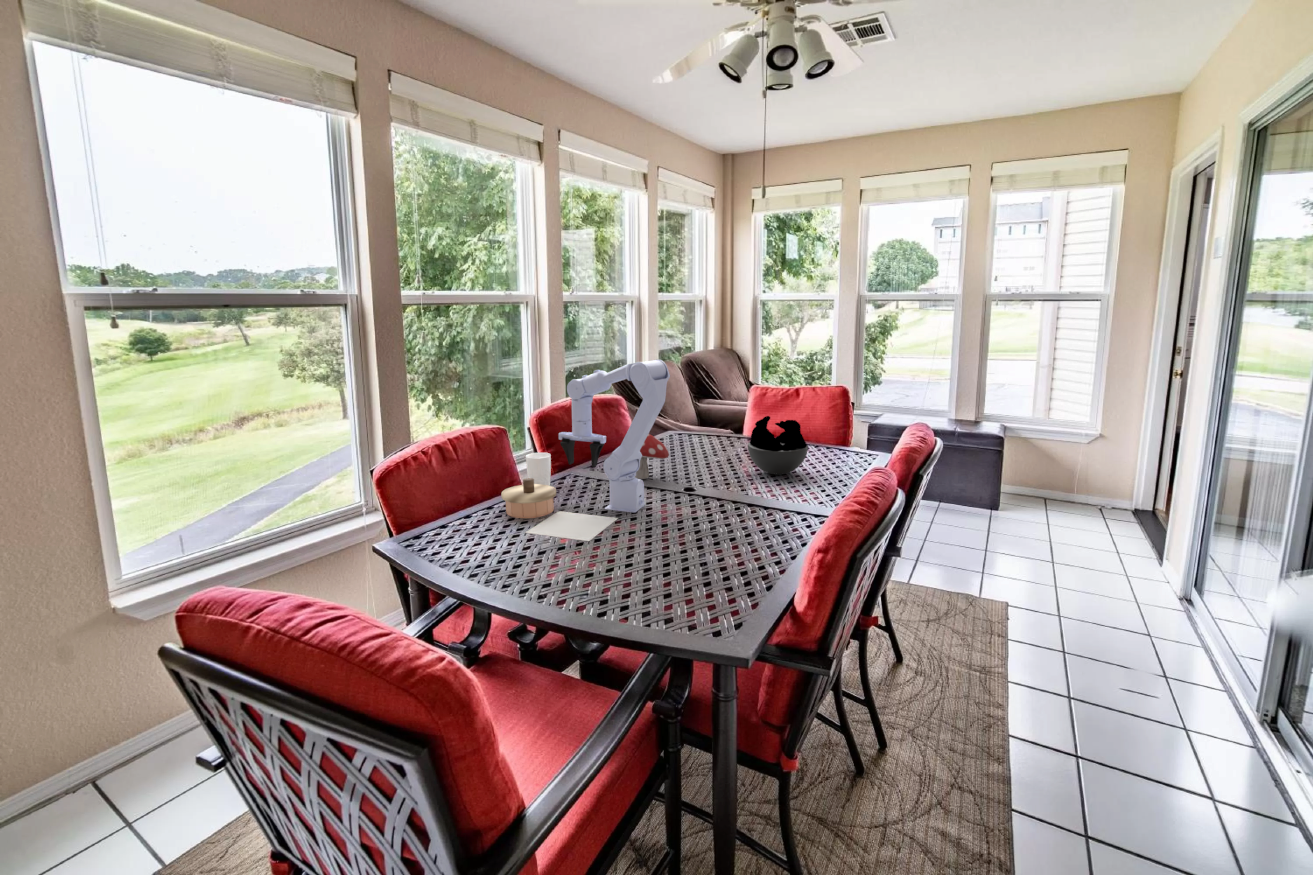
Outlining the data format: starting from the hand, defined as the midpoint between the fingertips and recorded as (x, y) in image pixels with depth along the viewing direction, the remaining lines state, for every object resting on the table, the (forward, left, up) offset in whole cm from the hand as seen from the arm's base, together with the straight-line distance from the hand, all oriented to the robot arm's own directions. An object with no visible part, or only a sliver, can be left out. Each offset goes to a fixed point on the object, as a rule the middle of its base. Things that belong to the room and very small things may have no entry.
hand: (582, 464), depth 193 cm
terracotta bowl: (+9, +16, -10) cm, 21 cm away
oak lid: (+9, +16, -5) cm, 19 cm away
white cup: (+20, -8, -11) cm, 24 cm away
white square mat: (-8, +23, -10) cm, 27 cm away
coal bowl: (-49, -47, -11) cm, 69 cm away
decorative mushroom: (-9, -27, -11) cm, 30 cm away
